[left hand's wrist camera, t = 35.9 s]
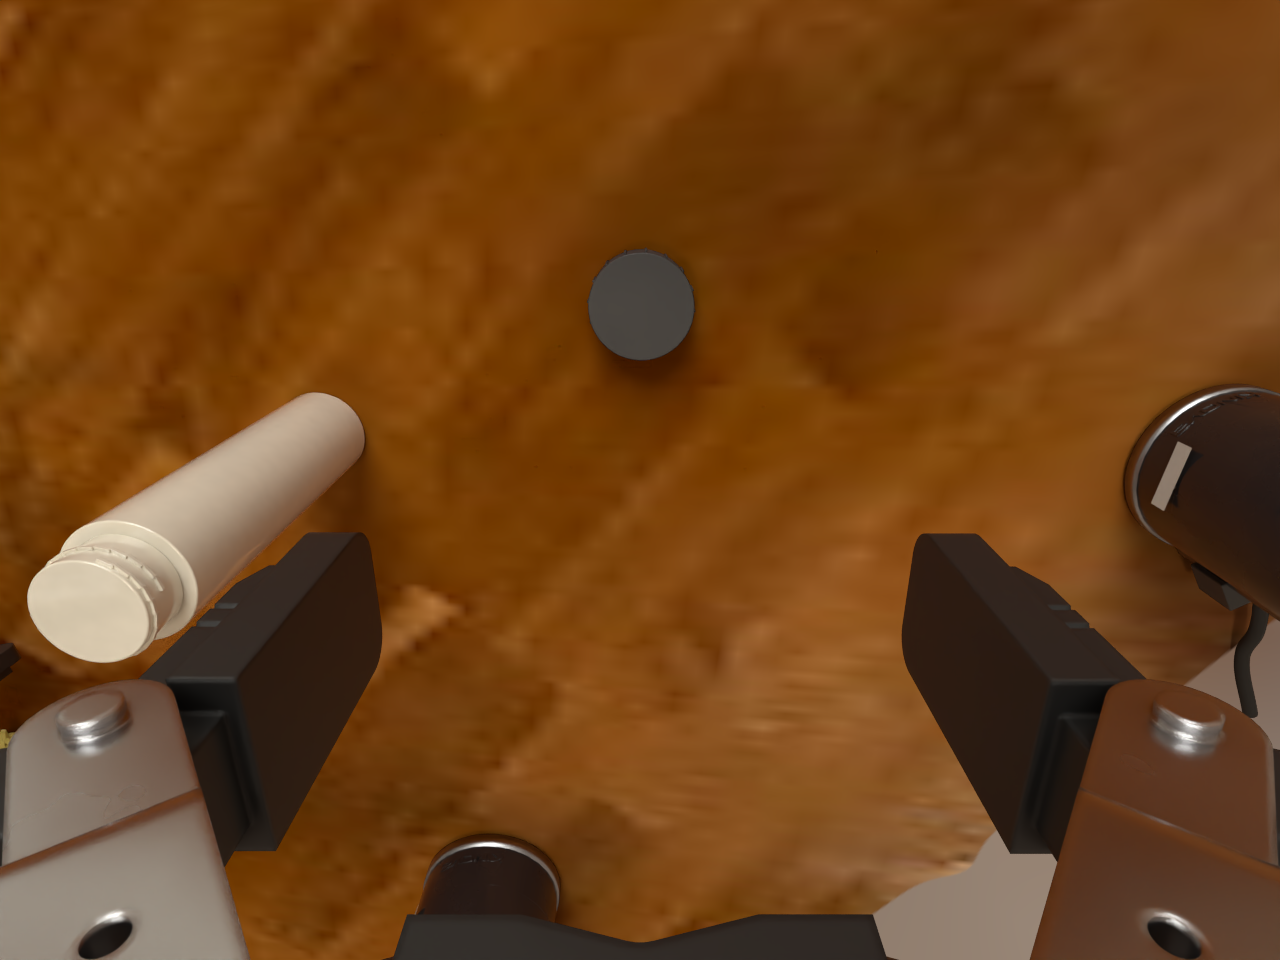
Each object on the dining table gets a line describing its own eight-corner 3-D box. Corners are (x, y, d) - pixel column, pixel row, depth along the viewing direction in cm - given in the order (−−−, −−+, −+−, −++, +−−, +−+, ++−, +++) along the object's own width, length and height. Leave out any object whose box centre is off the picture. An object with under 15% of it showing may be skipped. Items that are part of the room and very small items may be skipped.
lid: (674, 364, 40) (676, 373, 38) (579, 336, 39) (575, 344, 37) (705, 265, 38) (709, 270, 36) (605, 235, 37) (603, 237, 35)
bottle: (348, 486, 42) (143, 696, 25) (268, 450, 41) (-2, 640, 24) (377, 416, 41) (179, 585, 23) (294, 377, 40) (26, 523, 22)
